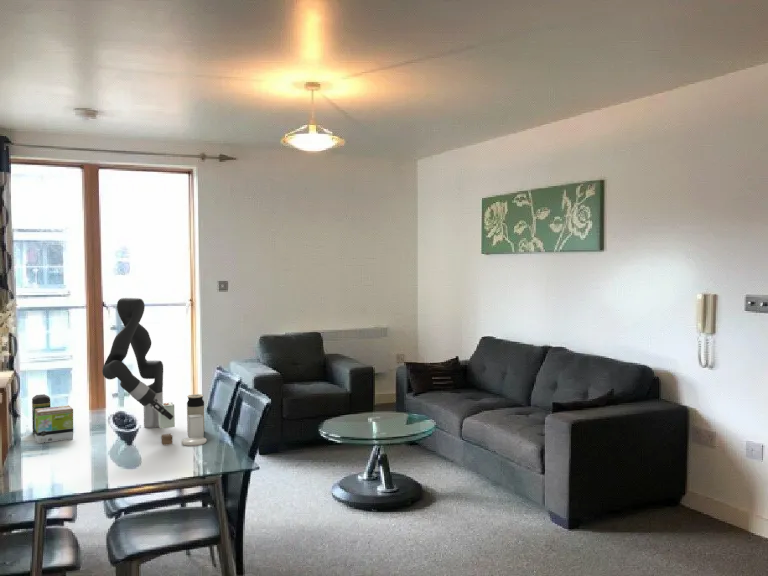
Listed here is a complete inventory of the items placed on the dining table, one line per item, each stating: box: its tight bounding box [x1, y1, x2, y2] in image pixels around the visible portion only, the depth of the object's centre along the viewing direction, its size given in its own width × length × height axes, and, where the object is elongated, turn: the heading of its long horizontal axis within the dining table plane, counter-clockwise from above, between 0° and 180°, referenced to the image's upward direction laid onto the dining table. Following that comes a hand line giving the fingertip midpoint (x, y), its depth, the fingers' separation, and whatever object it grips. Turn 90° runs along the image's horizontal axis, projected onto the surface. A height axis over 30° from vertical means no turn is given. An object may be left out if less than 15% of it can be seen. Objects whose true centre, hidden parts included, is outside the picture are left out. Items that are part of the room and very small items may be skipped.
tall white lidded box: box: [187, 414, 205, 438], centre depth 309 cm, size 6×6×10 cm
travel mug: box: [186, 393, 206, 432], centre depth 317 cm, size 8×8×18 cm
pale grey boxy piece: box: [158, 402, 176, 430], centre depth 297 cm, size 6×6×10 cm
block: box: [161, 433, 173, 446], centre depth 297 cm, size 4×4×4 cm
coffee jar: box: [31, 394, 52, 435], centre depth 319 cm, size 10×8×19 cm
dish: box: [180, 437, 207, 447], centre depth 298 cm, size 11×11×1 cm
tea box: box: [34, 404, 74, 444], centre depth 306 cm, size 15×10×15 cm, turn 126°
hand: (170, 416), depth 298 cm, fingers closed on pale grey boxy piece, 6 cm apart
